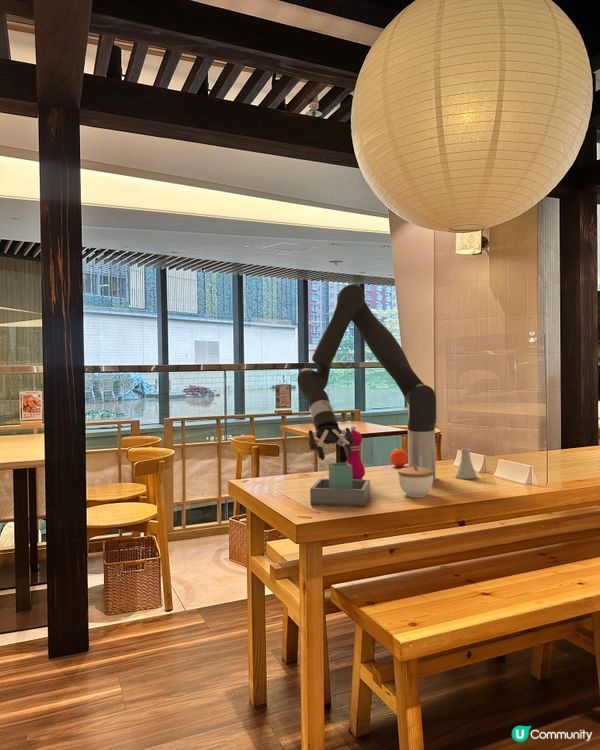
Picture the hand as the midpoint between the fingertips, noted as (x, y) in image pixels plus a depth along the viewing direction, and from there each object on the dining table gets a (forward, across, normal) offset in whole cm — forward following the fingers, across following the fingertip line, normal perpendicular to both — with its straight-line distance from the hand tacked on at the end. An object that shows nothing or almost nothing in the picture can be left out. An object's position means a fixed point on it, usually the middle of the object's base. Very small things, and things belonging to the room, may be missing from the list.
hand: (336, 457), depth 186 cm
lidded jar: (+14, +24, +5) cm, 28 cm away
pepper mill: (-1, +11, +18) cm, 21 cm away
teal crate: (+11, 0, +5) cm, 12 cm away
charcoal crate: (+12, 0, +6) cm, 13 cm away
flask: (+2, +51, +16) cm, 54 cm away
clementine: (-17, +38, +36) cm, 55 cm away
